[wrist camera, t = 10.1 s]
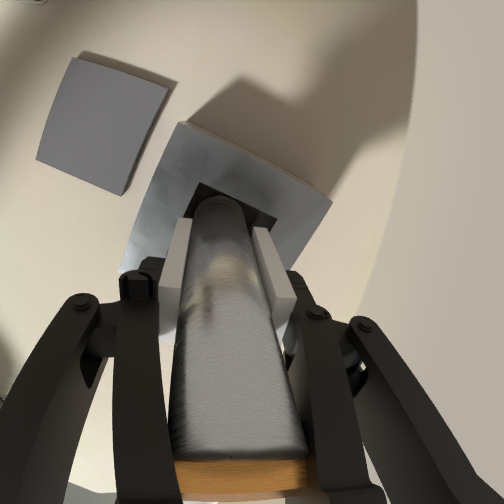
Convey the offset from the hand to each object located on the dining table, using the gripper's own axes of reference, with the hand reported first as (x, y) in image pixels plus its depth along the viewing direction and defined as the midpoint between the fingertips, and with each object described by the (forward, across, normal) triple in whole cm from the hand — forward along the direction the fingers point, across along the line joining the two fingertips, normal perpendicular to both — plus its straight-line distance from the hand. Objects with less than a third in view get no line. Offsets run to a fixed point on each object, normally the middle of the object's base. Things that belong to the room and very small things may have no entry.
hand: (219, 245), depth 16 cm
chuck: (+5, 0, 0) cm, 5 cm away
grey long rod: (+4, 0, 0) cm, 4 cm away
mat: (+5, -10, +6) cm, 12 cm away
